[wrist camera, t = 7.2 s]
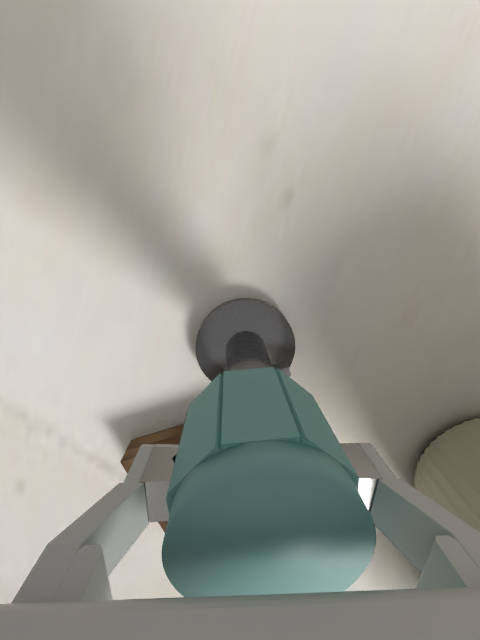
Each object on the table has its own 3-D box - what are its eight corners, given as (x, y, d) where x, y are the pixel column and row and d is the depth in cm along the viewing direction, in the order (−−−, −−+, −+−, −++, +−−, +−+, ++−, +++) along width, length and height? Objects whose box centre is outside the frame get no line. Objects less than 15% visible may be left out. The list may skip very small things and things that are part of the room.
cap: (165, 432, 11) (117, 571, 6) (247, 343, 10) (264, 431, 5) (256, 488, 12) (274, 639, 8) (338, 416, 11) (418, 539, 7)
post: (216, 396, 22) (202, 539, 11) (182, 316, 19) (124, 401, 9) (301, 370, 21) (371, 494, 11) (277, 284, 19) (337, 335, 8)
